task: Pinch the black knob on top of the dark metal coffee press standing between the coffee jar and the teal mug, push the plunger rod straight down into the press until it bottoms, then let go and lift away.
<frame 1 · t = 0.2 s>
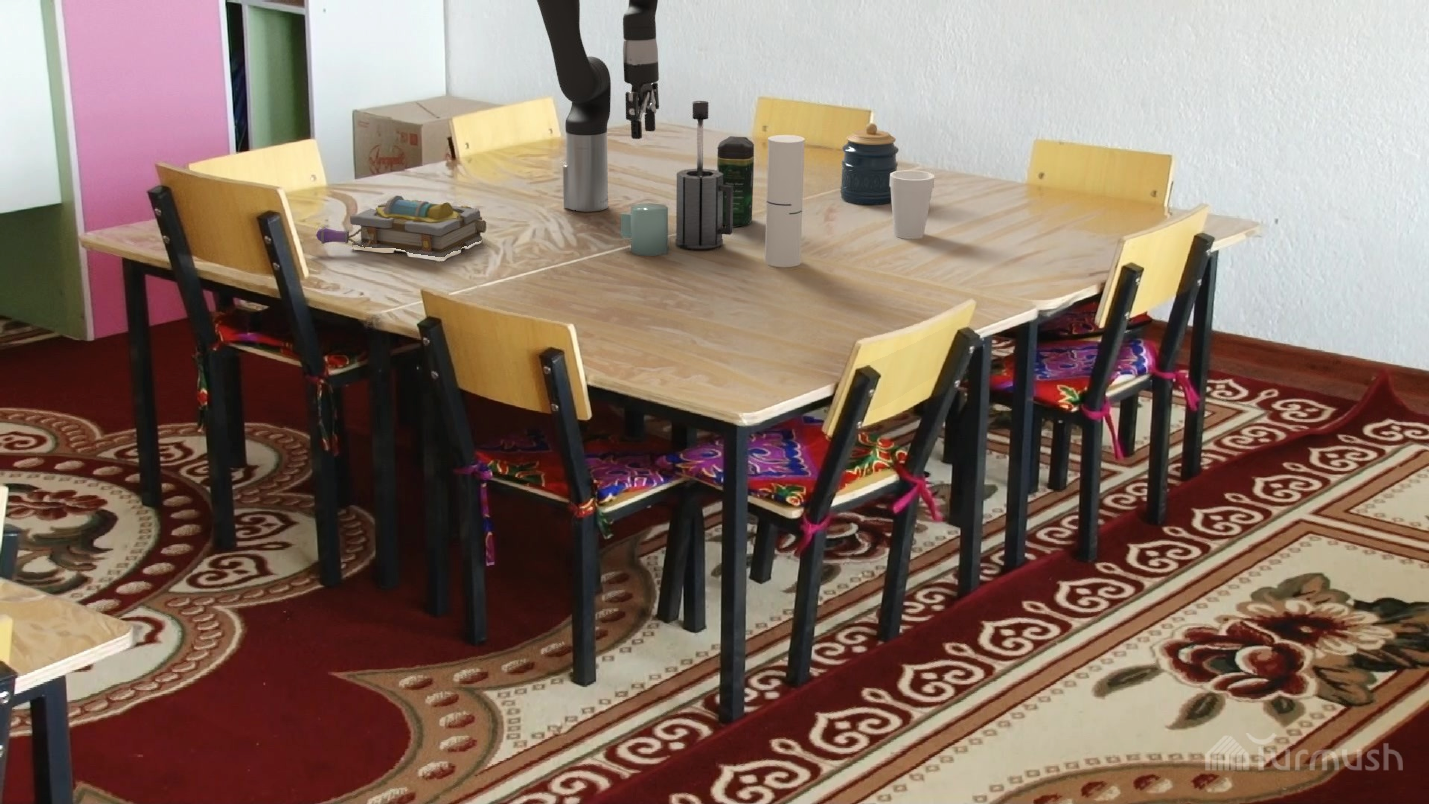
hand: (643, 134, 345), 18 cm above the table, tool pointing down, fingers open, 8 cm apart
canister: (867, 199, 367), on the table
teal mug: (649, 250, 323), on the table
plunger: (700, 145, 320), point 21 cm above the table, slide at 0.0 cm
press carafe: (699, 244, 328), on the table
decorative book: (403, 249, 324), on the table
foam cup: (908, 235, 337), on the table
cylindrical container: (782, 263, 317), on the table
coffee jar: (734, 223, 345), on the table
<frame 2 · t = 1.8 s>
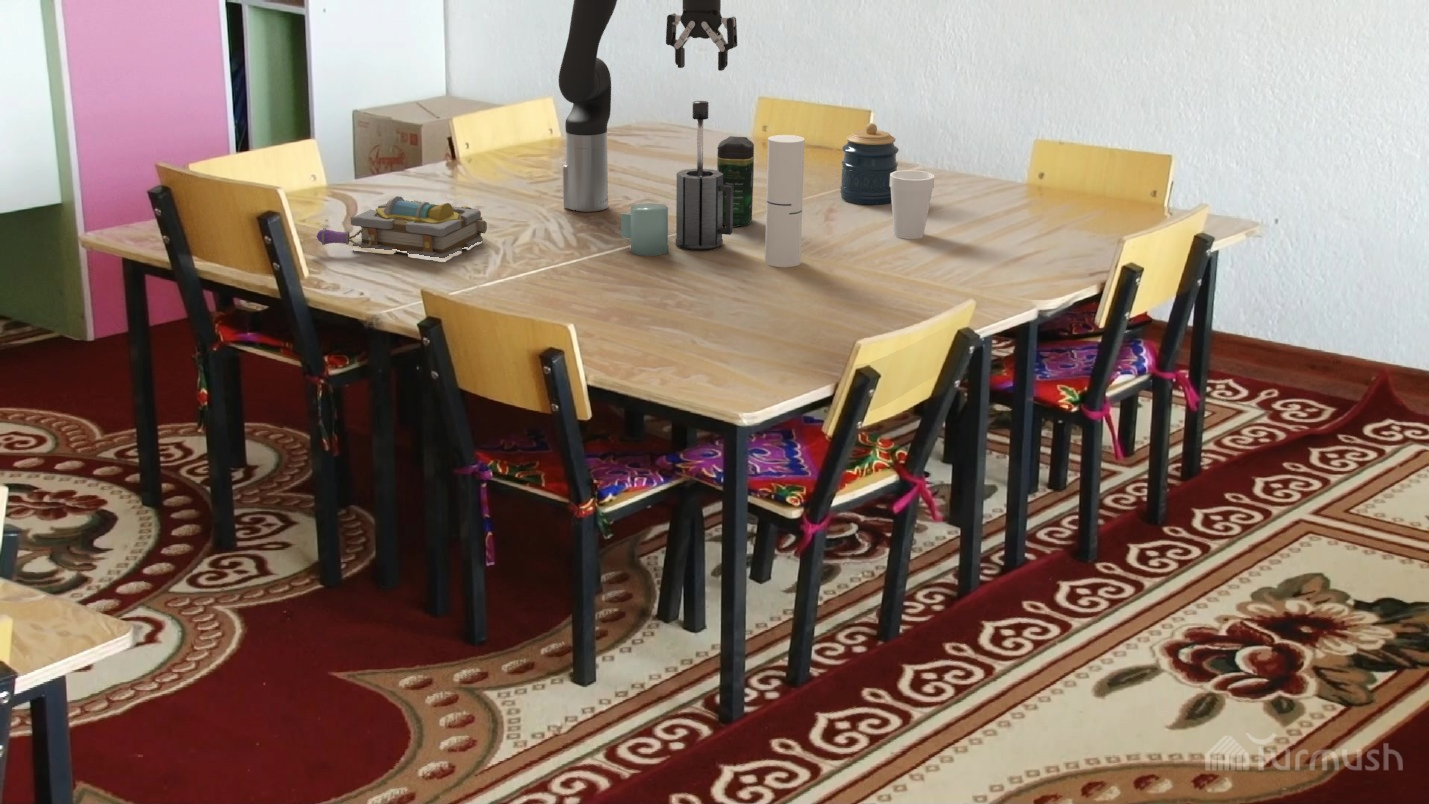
hand: (701, 68, 315), 36 cm above the table, tool pointing down, fingers open, 8 cm apart
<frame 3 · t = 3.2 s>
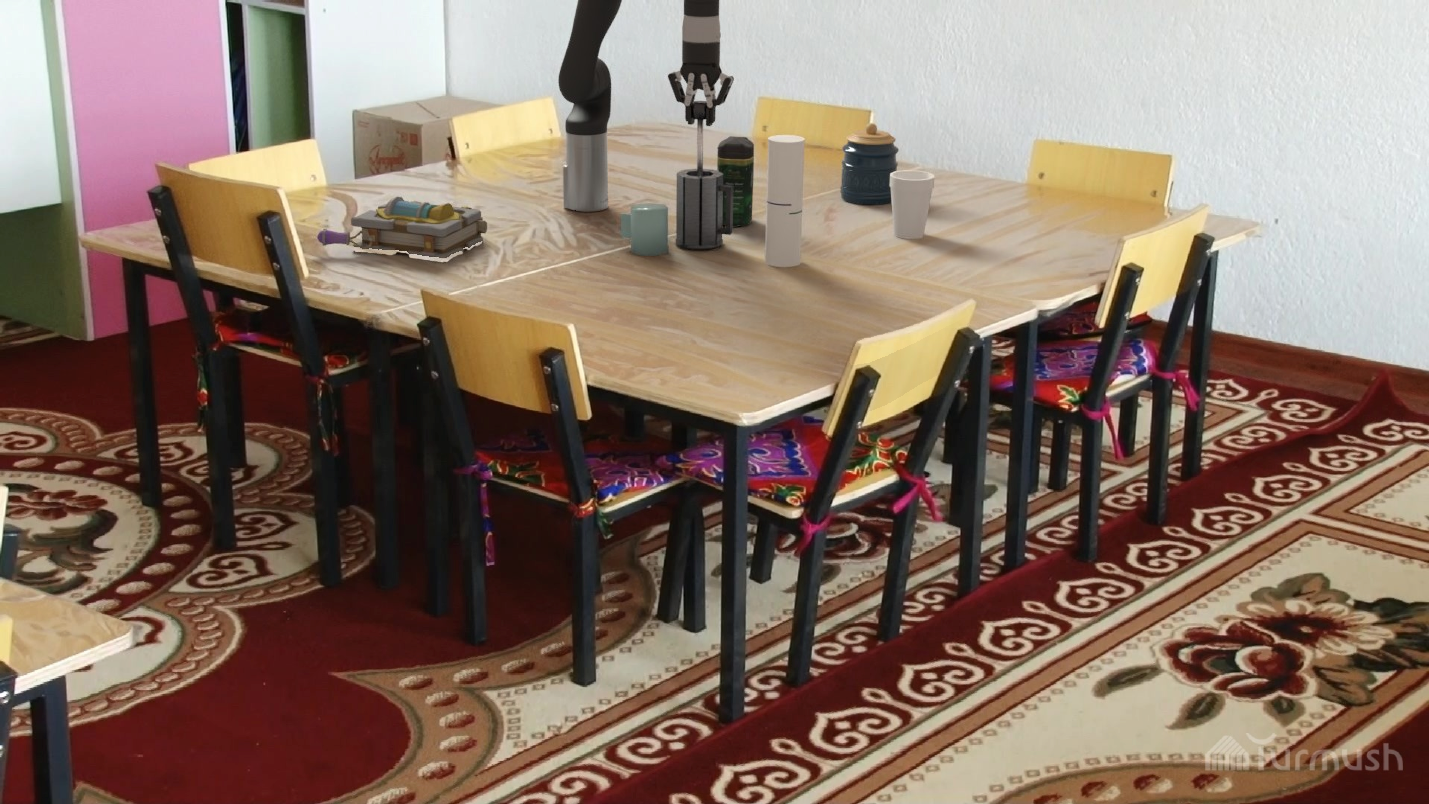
hand: (700, 124, 319), 25 cm above the table, tool pointing down, fingers closed on plunger, 3 cm apart
plunger: (700, 145, 320), point 21 cm above the table, slide at 0.0 cm, touching gripper
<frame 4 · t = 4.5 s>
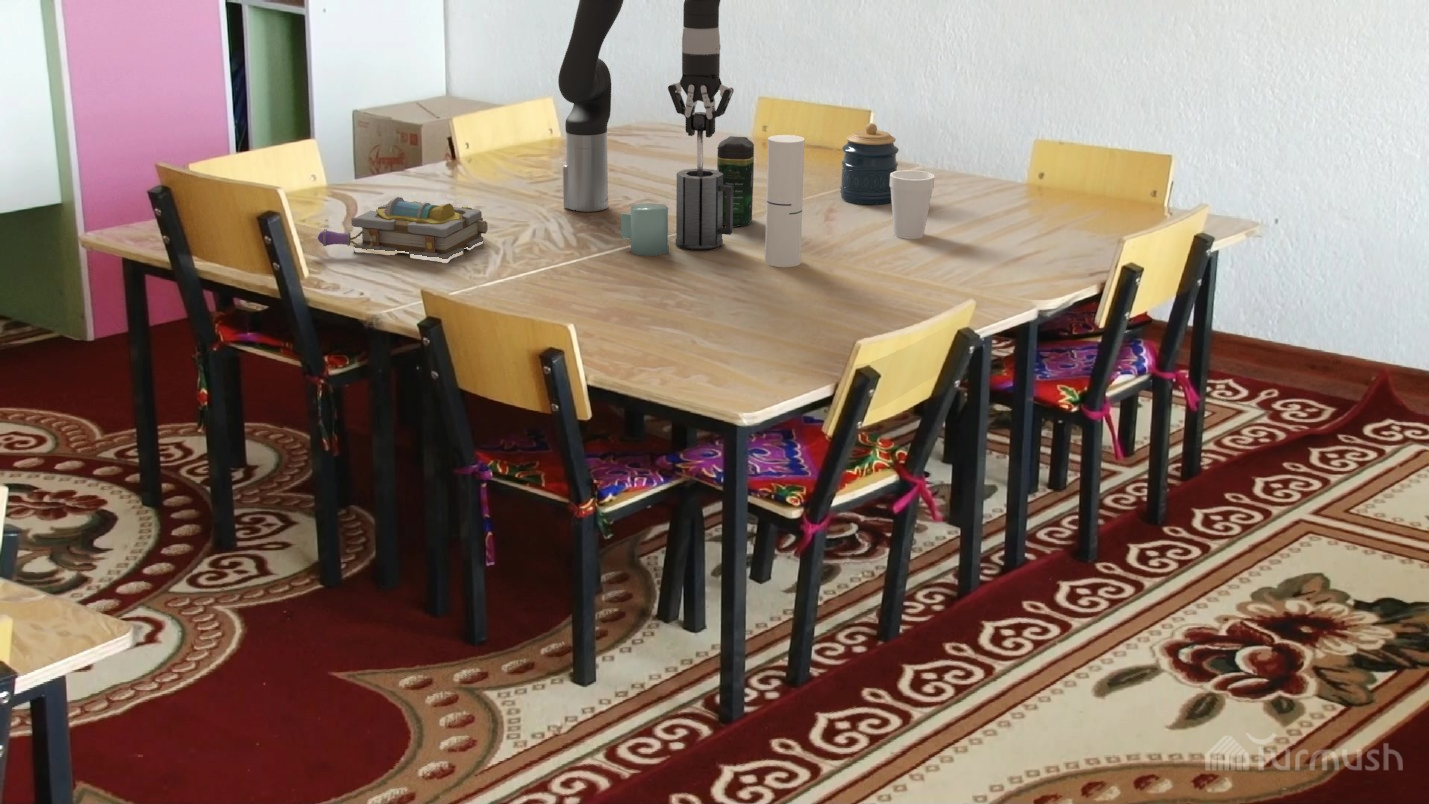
hand: (700, 135, 320), 23 cm above the table, tool pointing down, fingers closed on plunger, 3 cm apart
plunger: (700, 156, 321), point 19 cm above the table, slide at 2.3 cm, touching gripper
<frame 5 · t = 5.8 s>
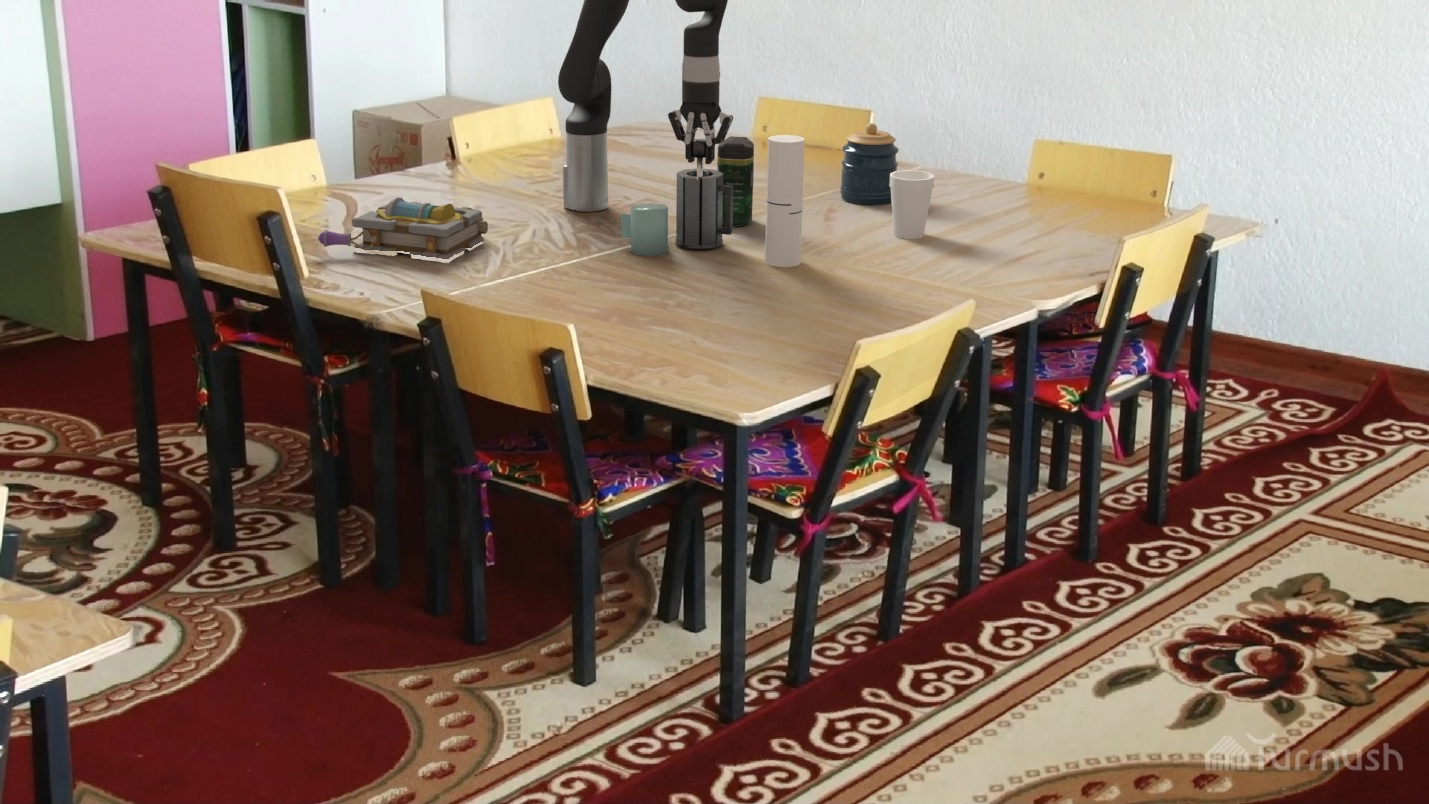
hand: (700, 162, 322), 17 cm above the table, tool pointing down, fingers closed on plunger, 3 cm apart
plunger: (699, 183, 323), point 13 cm above the table, slide at 7.8 cm, touching gripper
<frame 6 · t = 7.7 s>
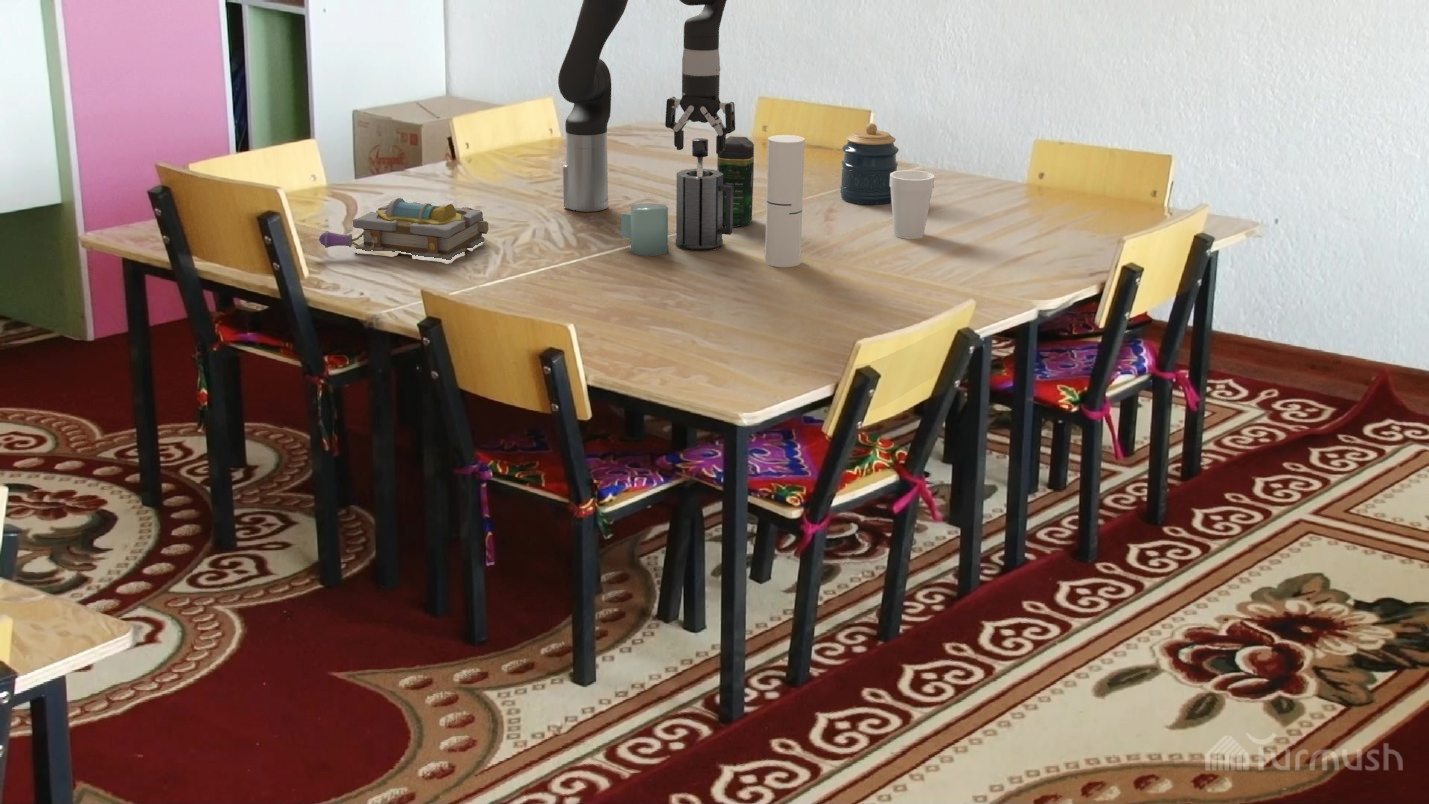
hand: (699, 151, 321), 20 cm above the table, tool pointing down, fingers open, 8 cm apart
plunger: (699, 182, 323), point 13 cm above the table, slide at 7.6 cm
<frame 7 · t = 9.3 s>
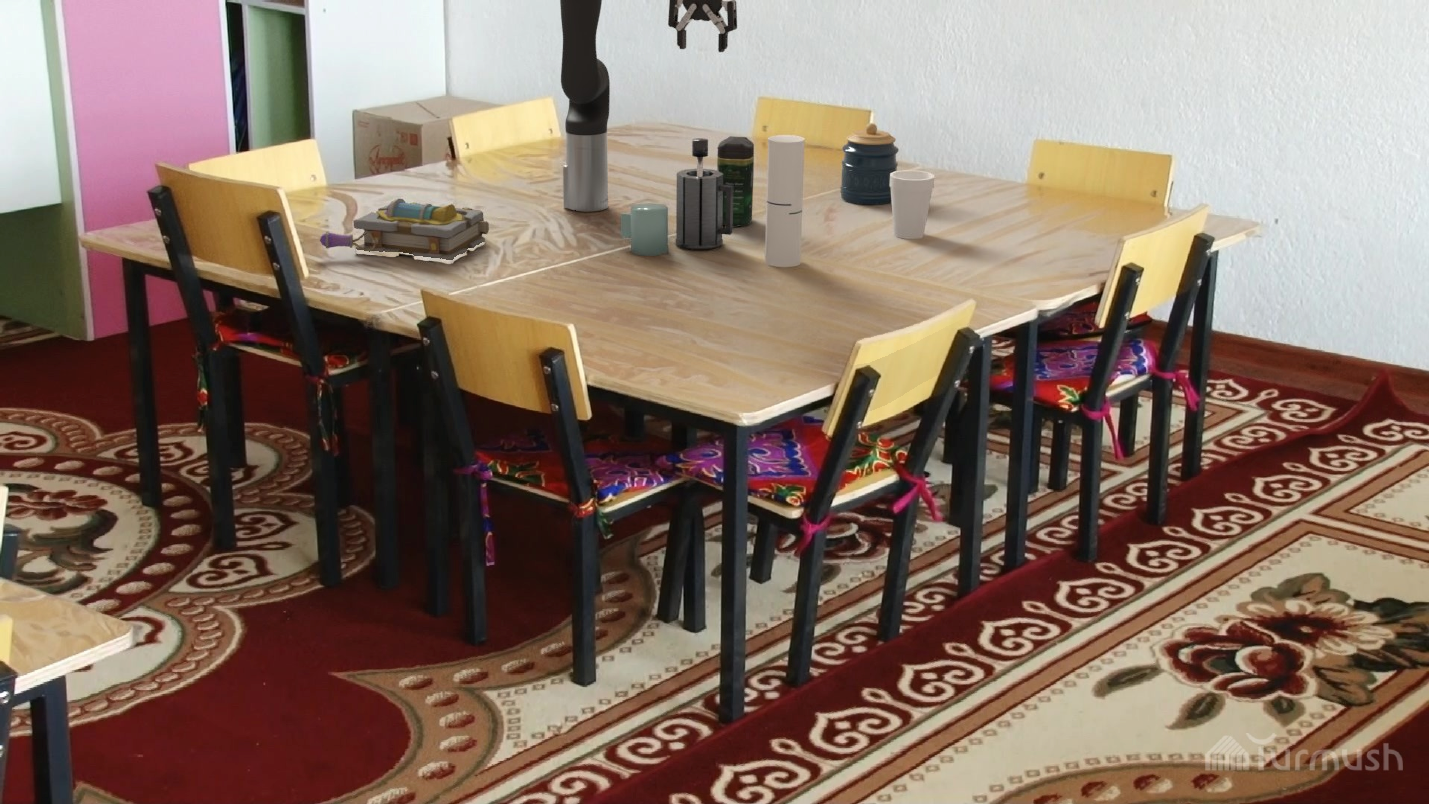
hand: (702, 50, 326), 38 cm above the table, tool pointing down, fingers open, 8 cm apart
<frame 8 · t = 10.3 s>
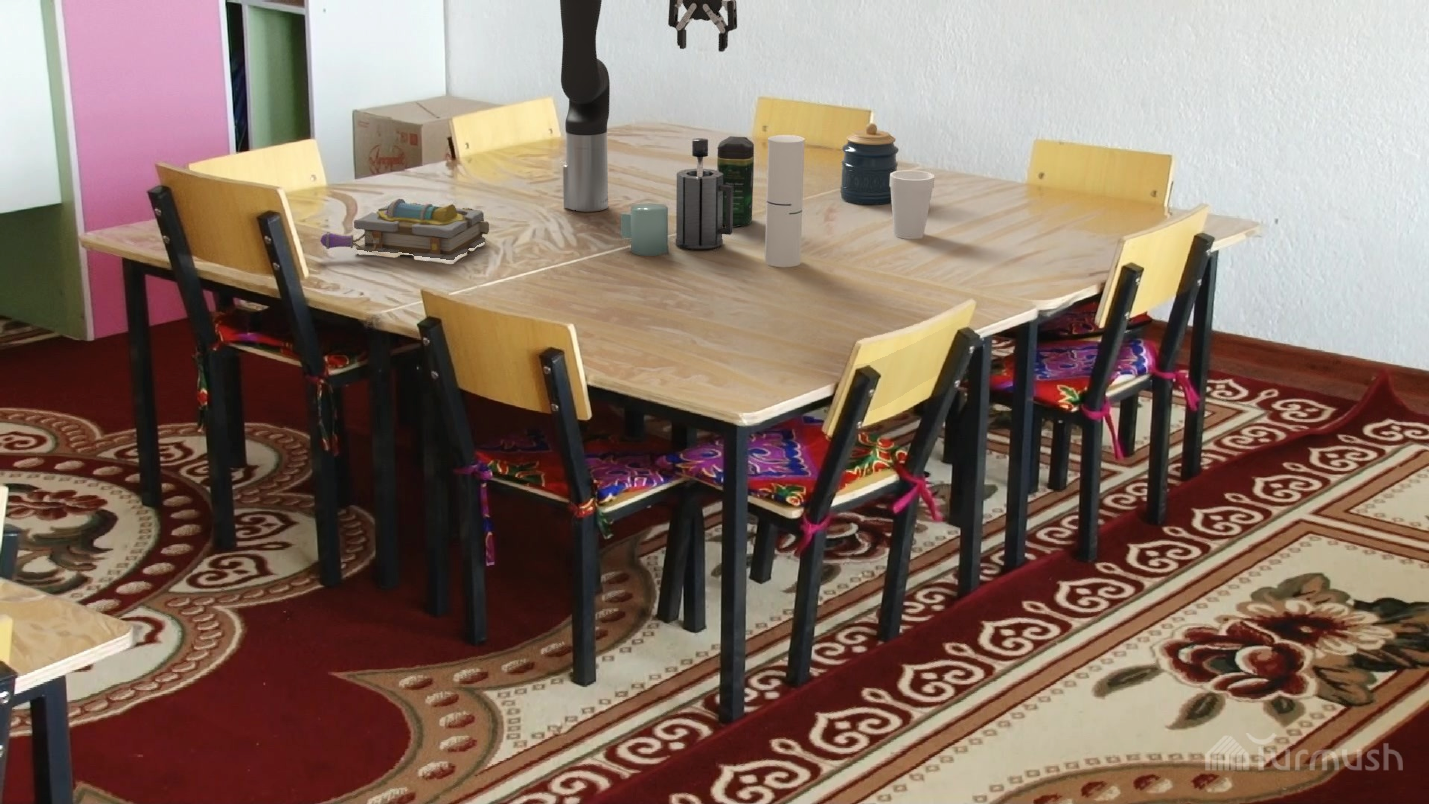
hand: (702, 49, 326), 38 cm above the table, tool pointing down, fingers open, 8 cm apart
at the end: plunger slide at 7.6 cm; the gripper is holding nothing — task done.
